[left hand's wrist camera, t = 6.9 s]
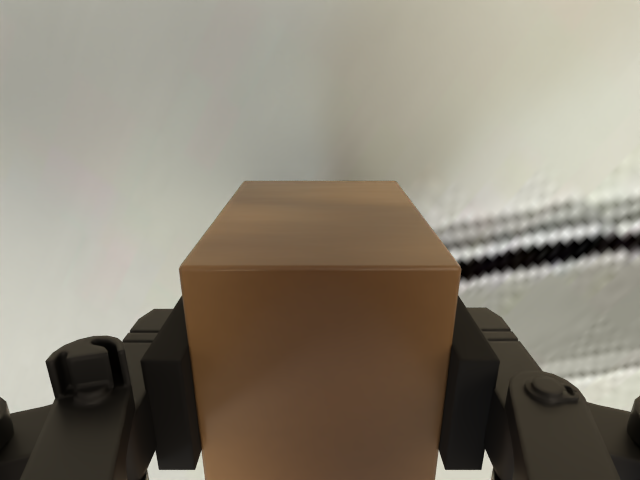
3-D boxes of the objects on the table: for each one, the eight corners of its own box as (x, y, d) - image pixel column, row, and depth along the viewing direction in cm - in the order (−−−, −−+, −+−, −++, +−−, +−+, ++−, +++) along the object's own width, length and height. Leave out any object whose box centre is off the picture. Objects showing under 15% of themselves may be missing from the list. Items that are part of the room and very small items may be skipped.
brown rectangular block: (253, 336, 17) (207, 510, 10) (243, 180, 15) (176, 266, 8) (387, 336, 17) (432, 510, 10) (396, 180, 15) (463, 266, 8)
